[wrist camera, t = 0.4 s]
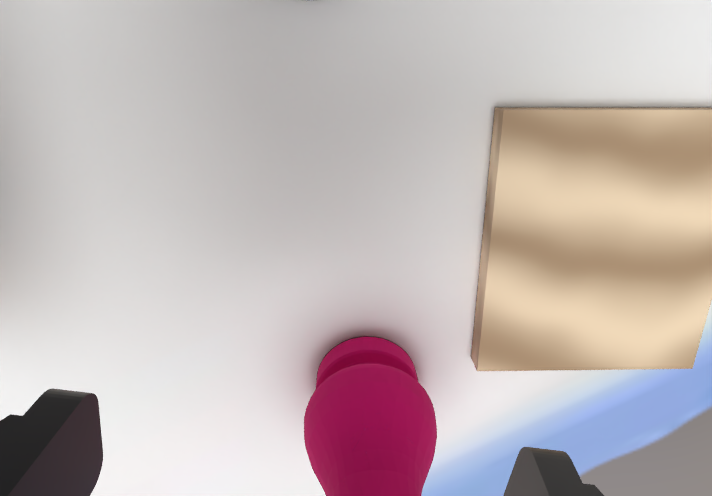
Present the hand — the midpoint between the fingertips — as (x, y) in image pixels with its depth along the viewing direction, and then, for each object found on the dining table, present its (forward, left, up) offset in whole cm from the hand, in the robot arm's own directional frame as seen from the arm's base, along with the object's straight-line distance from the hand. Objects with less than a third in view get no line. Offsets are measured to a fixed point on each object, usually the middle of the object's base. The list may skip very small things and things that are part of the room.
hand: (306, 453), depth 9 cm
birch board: (+3, +15, -19) cm, 24 cm away
